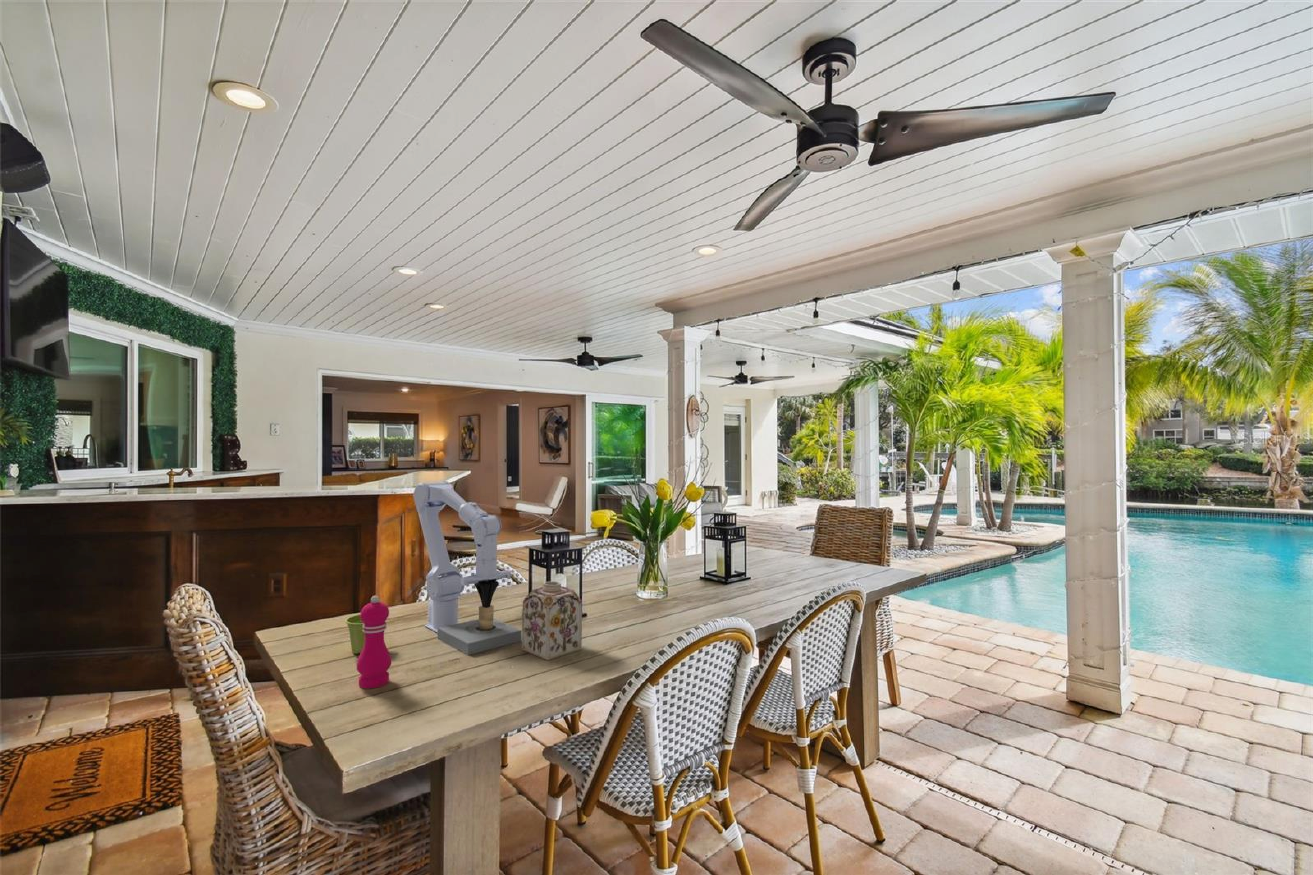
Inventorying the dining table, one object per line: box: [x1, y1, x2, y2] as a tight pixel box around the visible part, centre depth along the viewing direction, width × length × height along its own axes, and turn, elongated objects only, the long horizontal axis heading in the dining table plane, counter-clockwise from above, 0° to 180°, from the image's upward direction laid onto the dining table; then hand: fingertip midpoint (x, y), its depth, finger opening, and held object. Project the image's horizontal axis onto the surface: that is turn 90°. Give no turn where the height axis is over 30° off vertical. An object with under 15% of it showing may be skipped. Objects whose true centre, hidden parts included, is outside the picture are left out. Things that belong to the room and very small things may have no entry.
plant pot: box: [345, 613, 365, 655], centre depth 157 cm, size 9×9×9 cm
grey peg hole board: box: [437, 618, 522, 656], centre depth 166 cm, size 18×16×3 cm
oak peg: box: [478, 604, 494, 631], centre depth 167 cm, size 4×4×9 cm
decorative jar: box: [521, 580, 583, 661], centre depth 158 cm, size 12×12×18 cm
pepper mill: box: [356, 595, 392, 689], centre depth 135 cm, size 7×7×20 cm
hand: (486, 607), depth 167 cm, fingers closed, pressing on oak peg
